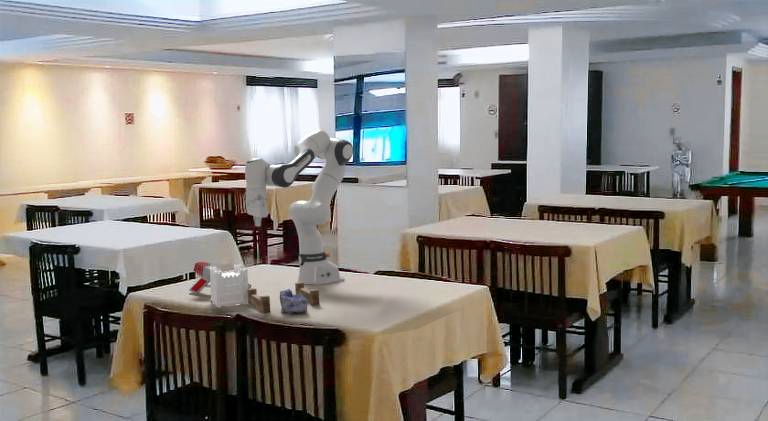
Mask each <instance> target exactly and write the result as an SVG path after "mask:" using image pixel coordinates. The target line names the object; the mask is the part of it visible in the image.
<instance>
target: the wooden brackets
mask: <svg viewBox="0 0 768 421" xmlns="http://www.w3.org/2000/svg"><path fill="white" fill-rule="evenodd" d="M294 286H295V288H294V290H295V295H301V296H302V297H304V298H305V299H307V302H308V304H309V305H310V306H312V307H314V306H315V307H316V306H320V302H321V301H320V289H318V288H314V289H308V288H305V284H304V283H303V282H299V283H298V282H295V283H294ZM257 291H258V290H257V288H256V287H253V288H252V287H251V289H248V304H247V305H249V304H251V305H250V306H252V305H253V306H252V307H253V308H255V307H256V308H255V309H257V310H258V311H260V313H262V314H265V313H271V298H270V296H269V294H267V295H259V294H258V292H257Z"/></svg>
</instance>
